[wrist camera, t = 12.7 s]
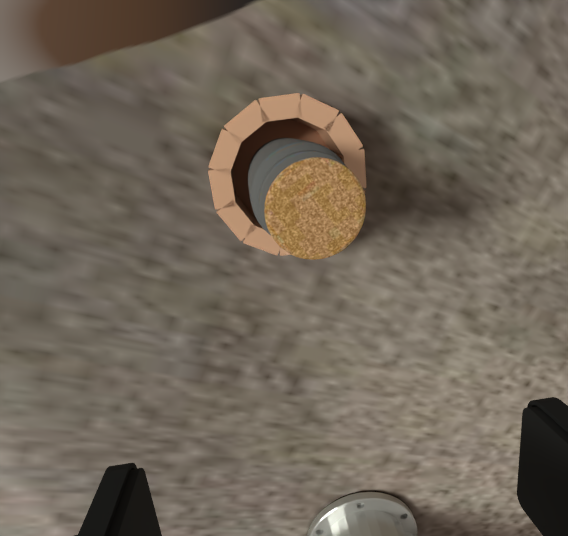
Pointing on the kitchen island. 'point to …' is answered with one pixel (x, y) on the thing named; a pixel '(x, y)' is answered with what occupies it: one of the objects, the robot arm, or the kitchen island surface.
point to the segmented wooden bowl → (259, 130)
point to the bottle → (305, 197)
